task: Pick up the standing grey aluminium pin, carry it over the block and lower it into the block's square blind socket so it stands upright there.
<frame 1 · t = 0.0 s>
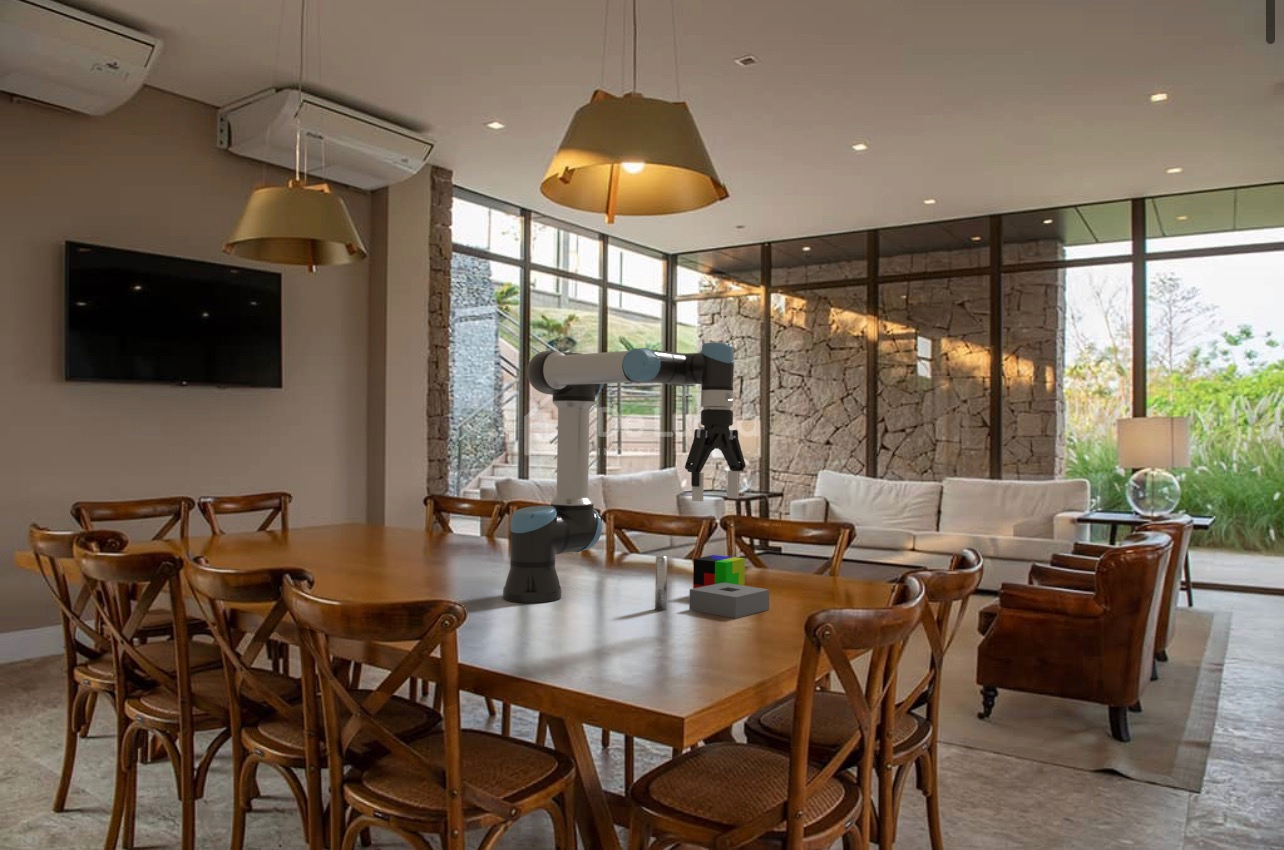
hand: (715, 499, 203), 28 cm above the table, tool pointing down, fingers open, 13 cm apart
pin: (660, 609, 213), on the table
puzzle toy: (718, 596, 232), on the table
socket block: (729, 609, 214), on the table
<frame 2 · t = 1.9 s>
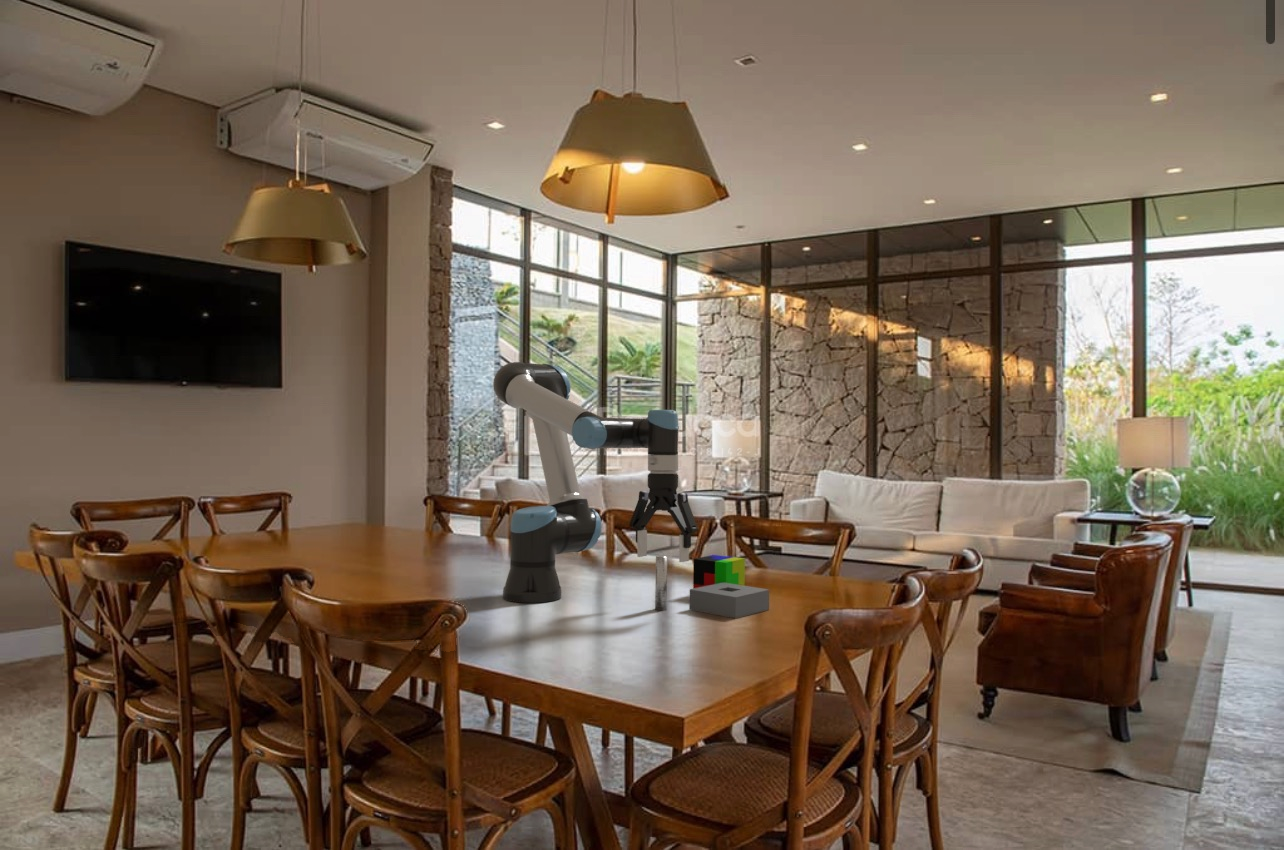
hand: (662, 559, 213), 12 cm above the table, tool pointing down, fingers open, 13 cm apart
nothing on the table moved.
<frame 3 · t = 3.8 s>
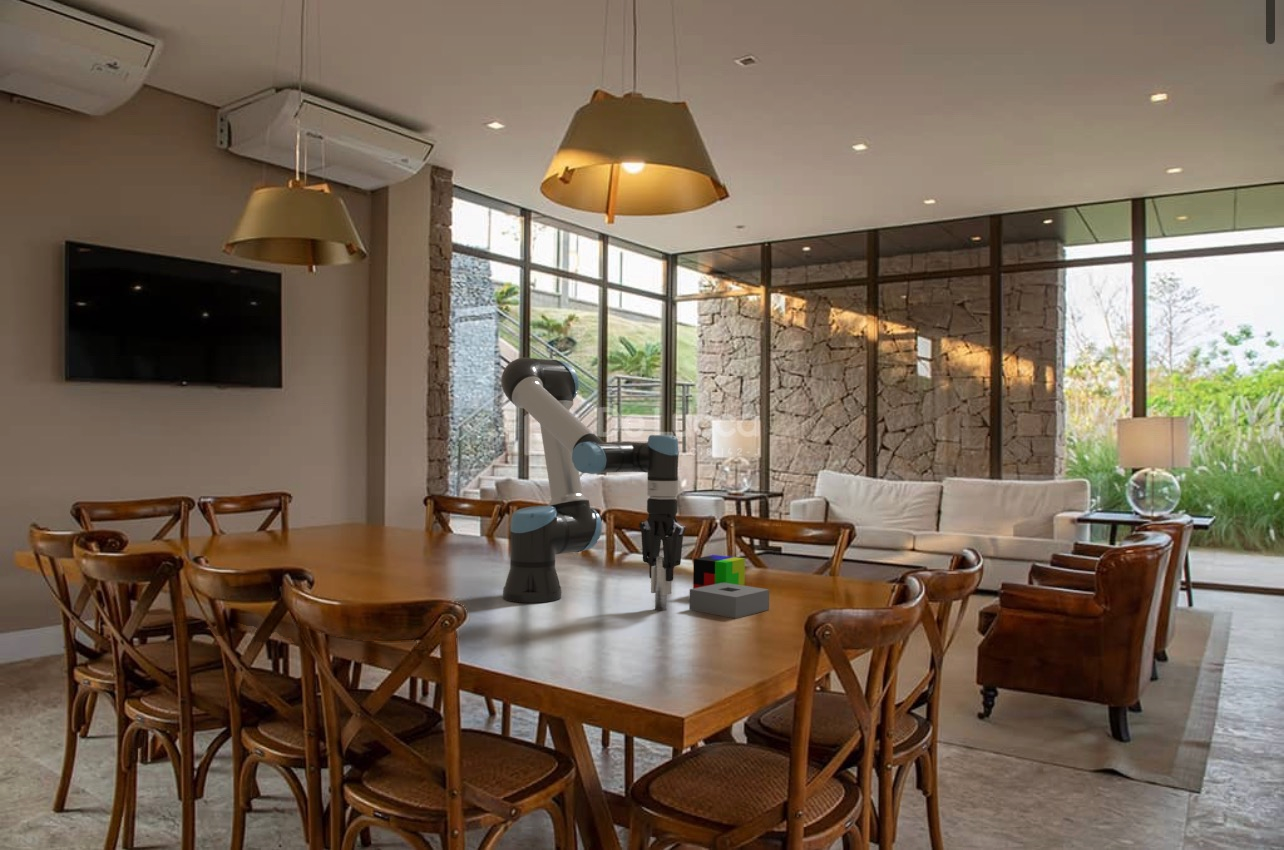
hand: (661, 593, 213), 4 cm above the table, tool pointing down, fingers closed on pin, 3 cm apart
pin: (660, 609, 213), on the table, touching gripper
everything else where it was.
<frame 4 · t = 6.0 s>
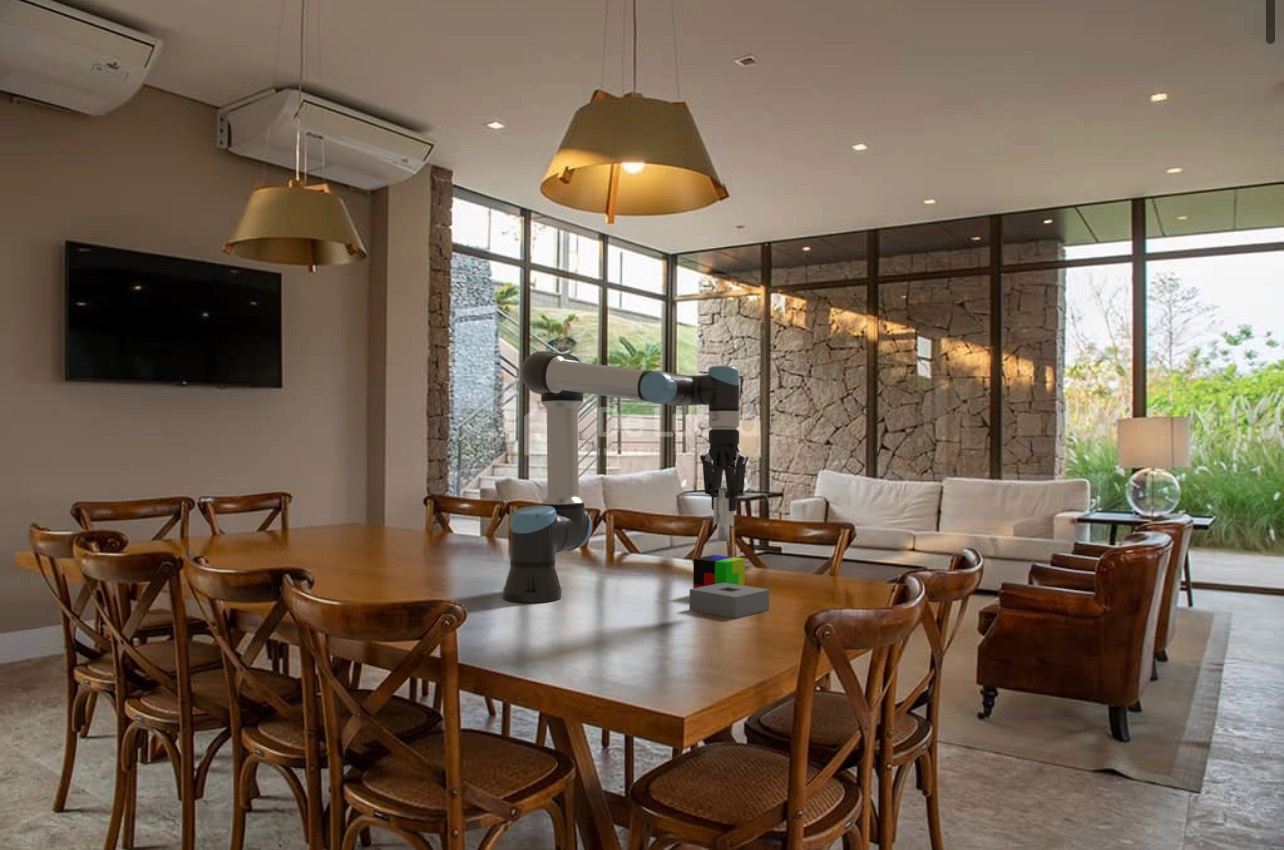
hand: (723, 523, 214), 21 cm above the table, tool pointing down, fingers closed on pin, 3 cm apart
pin: (723, 540, 214), point 17 cm above the table, touching gripper
everything else where it was.
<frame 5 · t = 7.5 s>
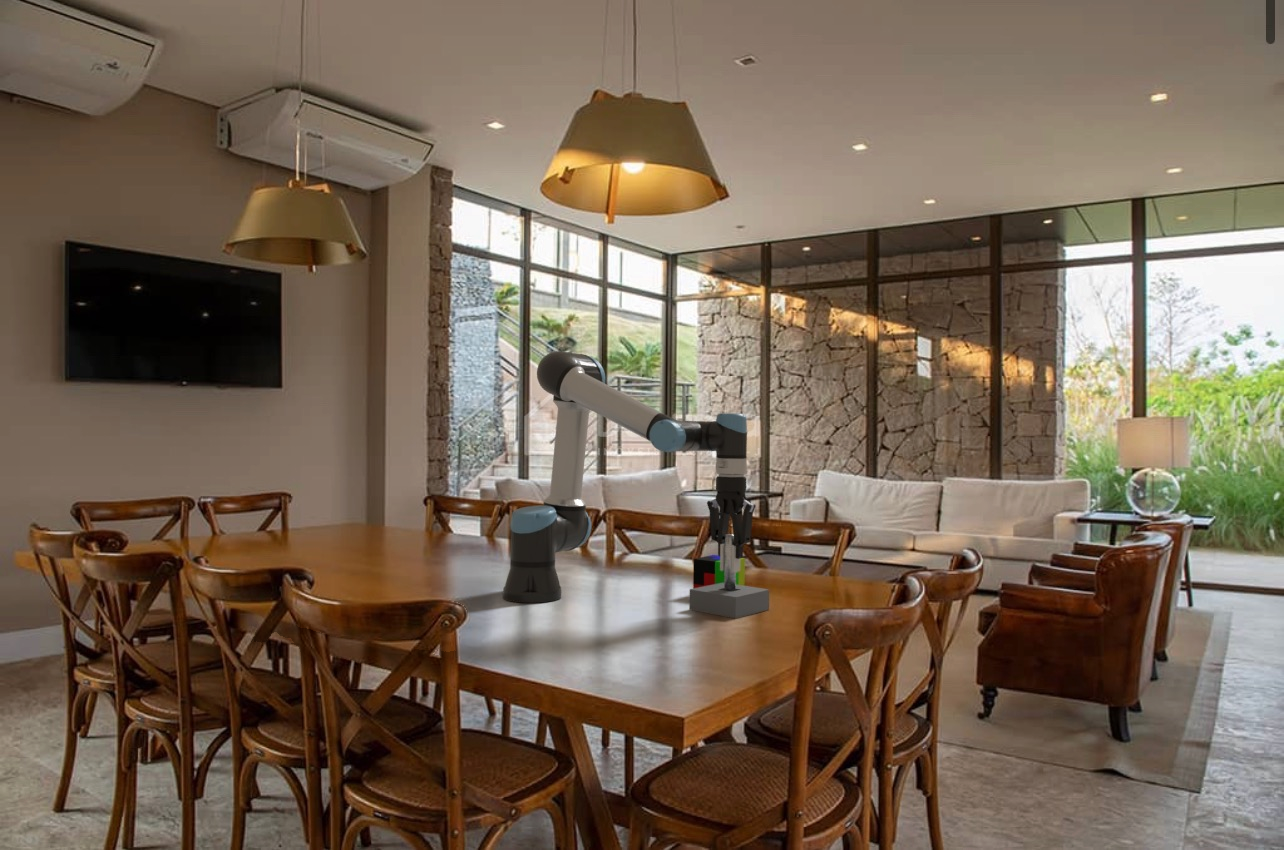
hand: (730, 570, 214), 10 cm above the table, tool pointing down, fingers closed on pin, 3 cm apart
pin: (729, 587, 214), point 5 cm above the table, touching gripper
everything else where it was.
when the fingers open (7 cm above the table, at t = 8.5 s): pin drops 1 cm, resting on socket block.
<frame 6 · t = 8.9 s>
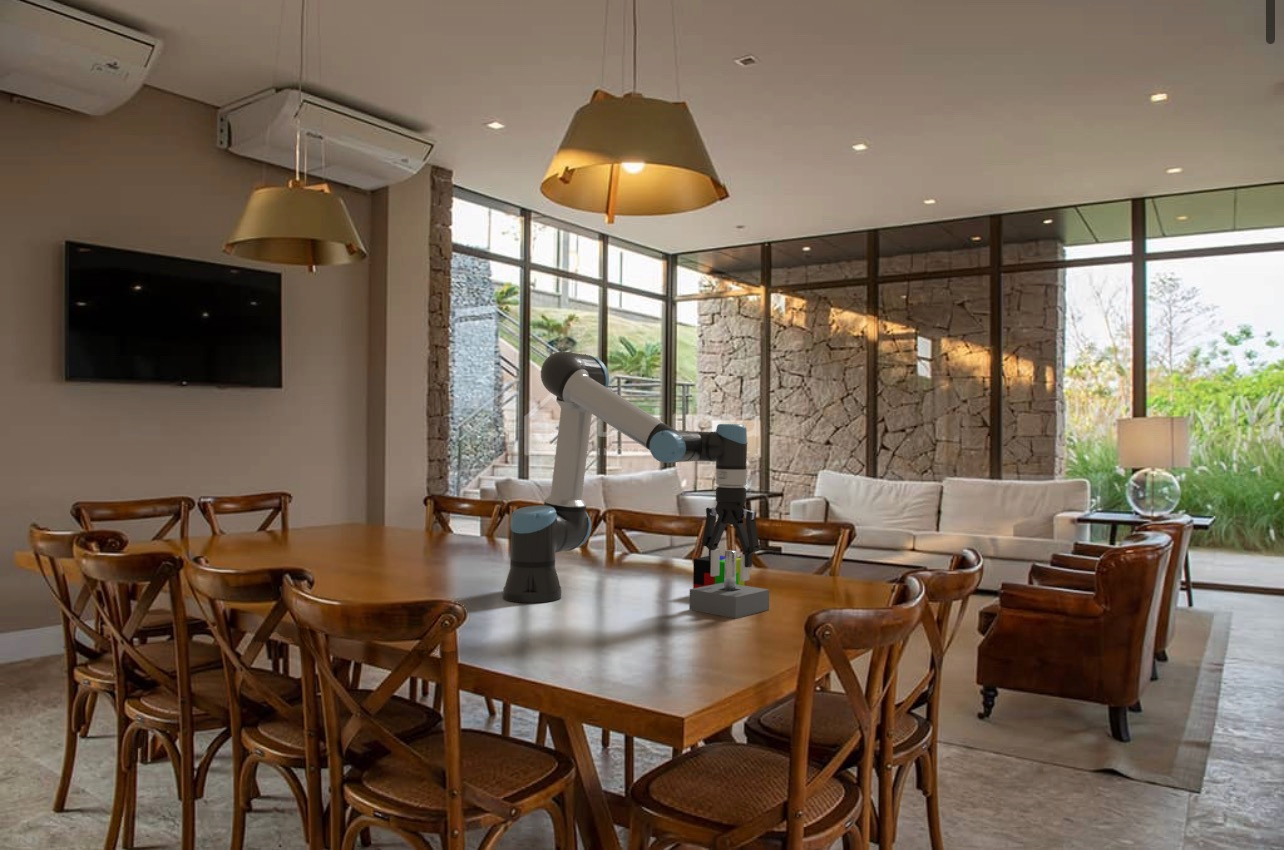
hand: (729, 577, 214), 8 cm above the table, tool pointing down, fingers open, 8 cm apart
pin: (729, 603, 214), point 2 cm above the table, touching socket block
everything else where it was.
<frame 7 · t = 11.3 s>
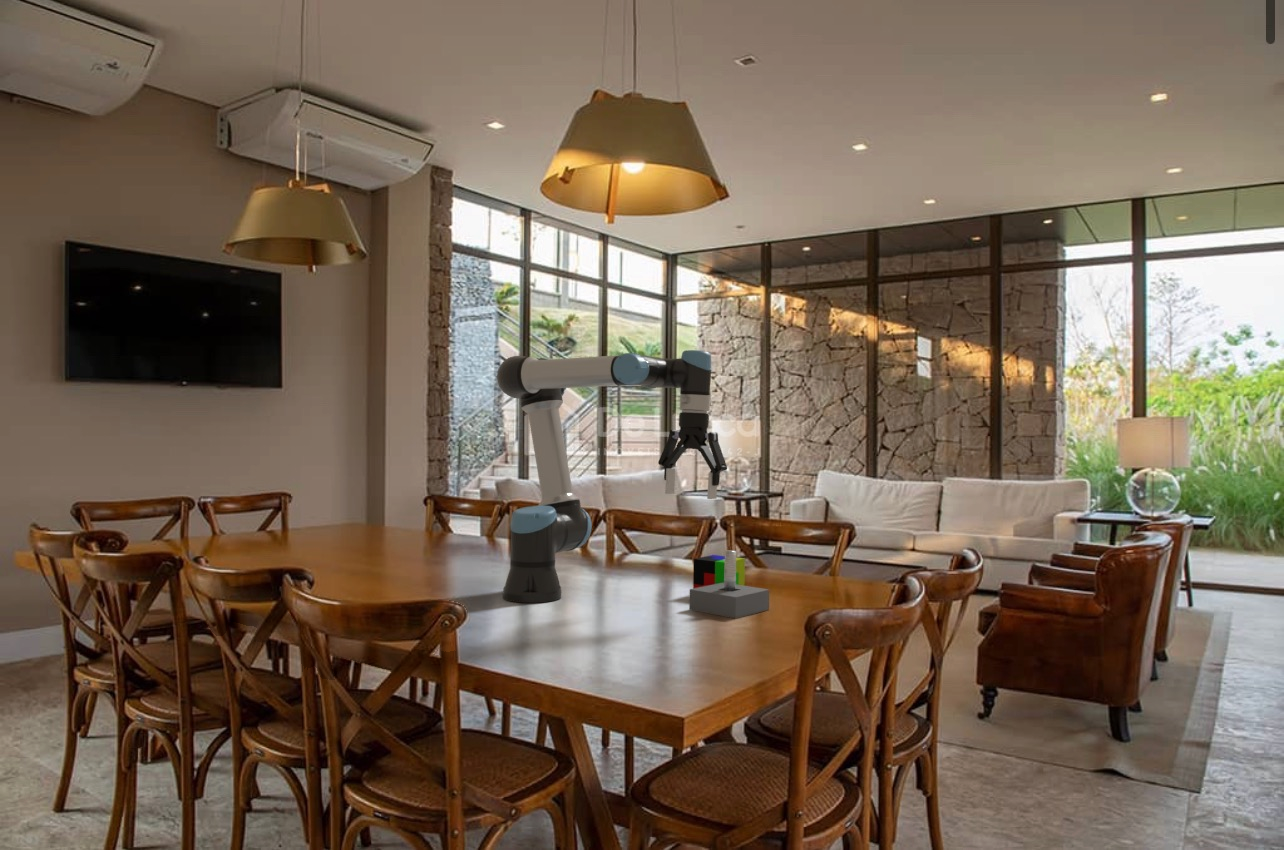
hand: (690, 496, 219), 28 cm above the table, tool pointing down, fingers open, 13 cm apart
nothing on the table moved.
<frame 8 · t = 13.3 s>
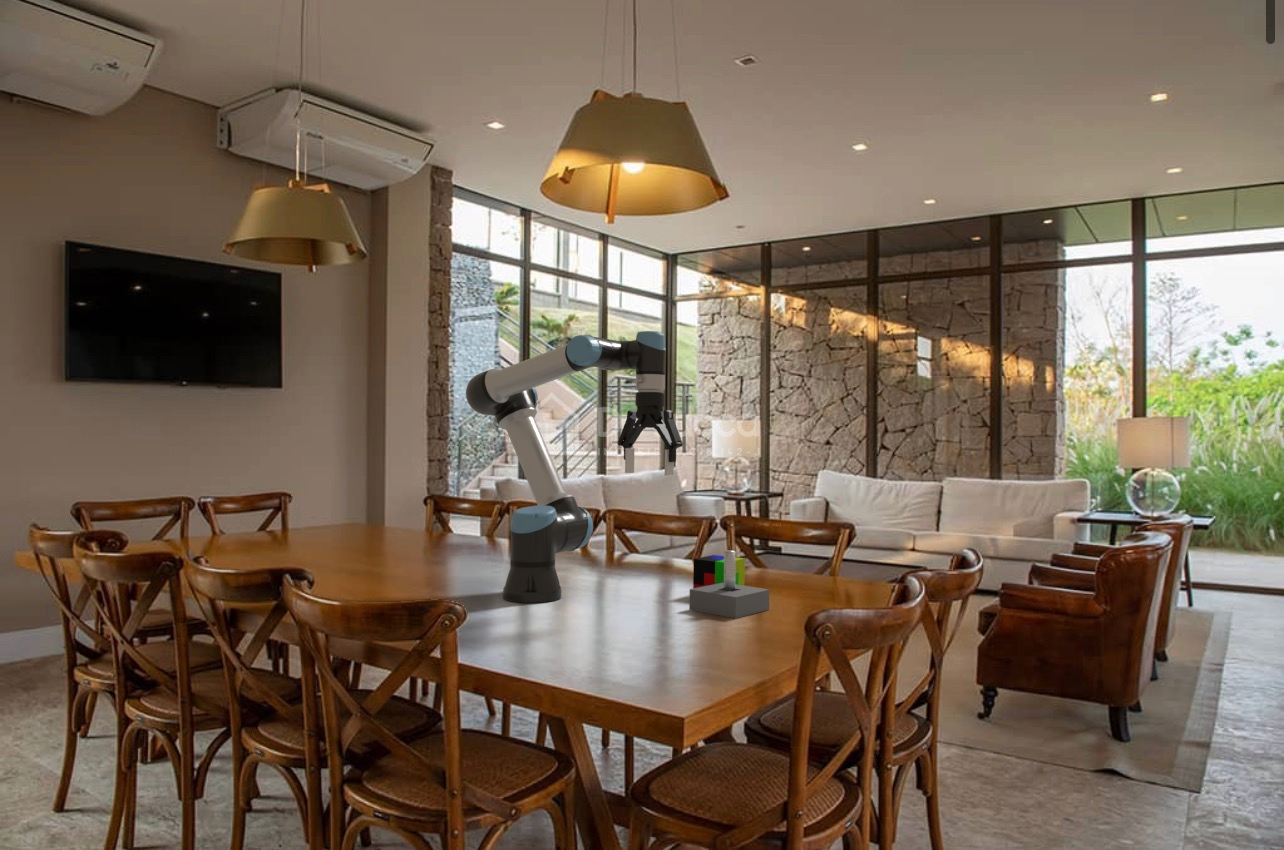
hand: (648, 474, 223), 33 cm above the table, tool pointing down, fingers open, 13 cm apart
nothing on the table moved.
at the end: pin 0.0 cm off-centre on the socket block, point 1.5 cm above the socket block's base; pin tilted 0°; the gripper is holding nothing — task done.
